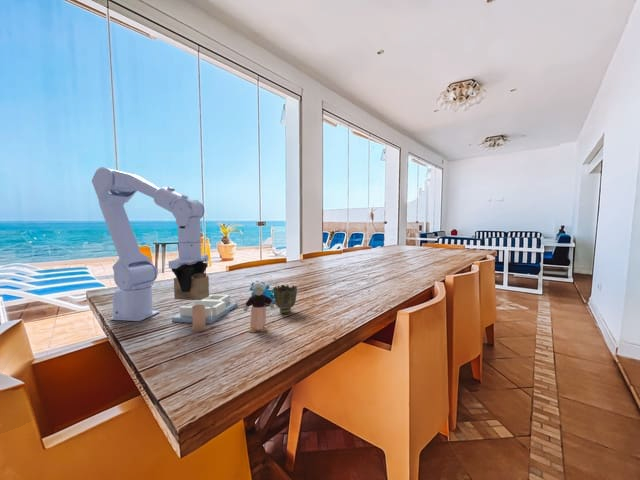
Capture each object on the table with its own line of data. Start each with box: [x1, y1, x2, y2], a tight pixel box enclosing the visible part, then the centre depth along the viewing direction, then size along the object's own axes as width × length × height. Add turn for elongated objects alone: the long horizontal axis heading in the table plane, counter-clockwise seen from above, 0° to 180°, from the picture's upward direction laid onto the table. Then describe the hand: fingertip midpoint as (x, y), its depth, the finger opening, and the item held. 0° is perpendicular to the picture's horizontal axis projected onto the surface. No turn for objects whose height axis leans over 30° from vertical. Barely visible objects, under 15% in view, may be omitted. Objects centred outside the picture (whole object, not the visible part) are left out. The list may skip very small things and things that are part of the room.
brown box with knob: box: [173, 272, 210, 301], centre depth 74 cm, size 8×4×7 cm, turn 81°
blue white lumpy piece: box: [249, 280, 275, 306], centre depth 92 cm, size 11×6×10 cm
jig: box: [171, 294, 238, 324], centre depth 80 cm, size 12×16×4 cm
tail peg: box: [192, 305, 207, 332], centre depth 68 cm, size 3×3×6 cm
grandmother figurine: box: [243, 281, 275, 334], centre depth 67 cm, size 8×4×13 cm, turn 117°
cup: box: [272, 284, 298, 315], centre depth 80 cm, size 8×7×8 cm
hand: (191, 289), depth 74 cm, fingers closed on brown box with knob, 4 cm apart
